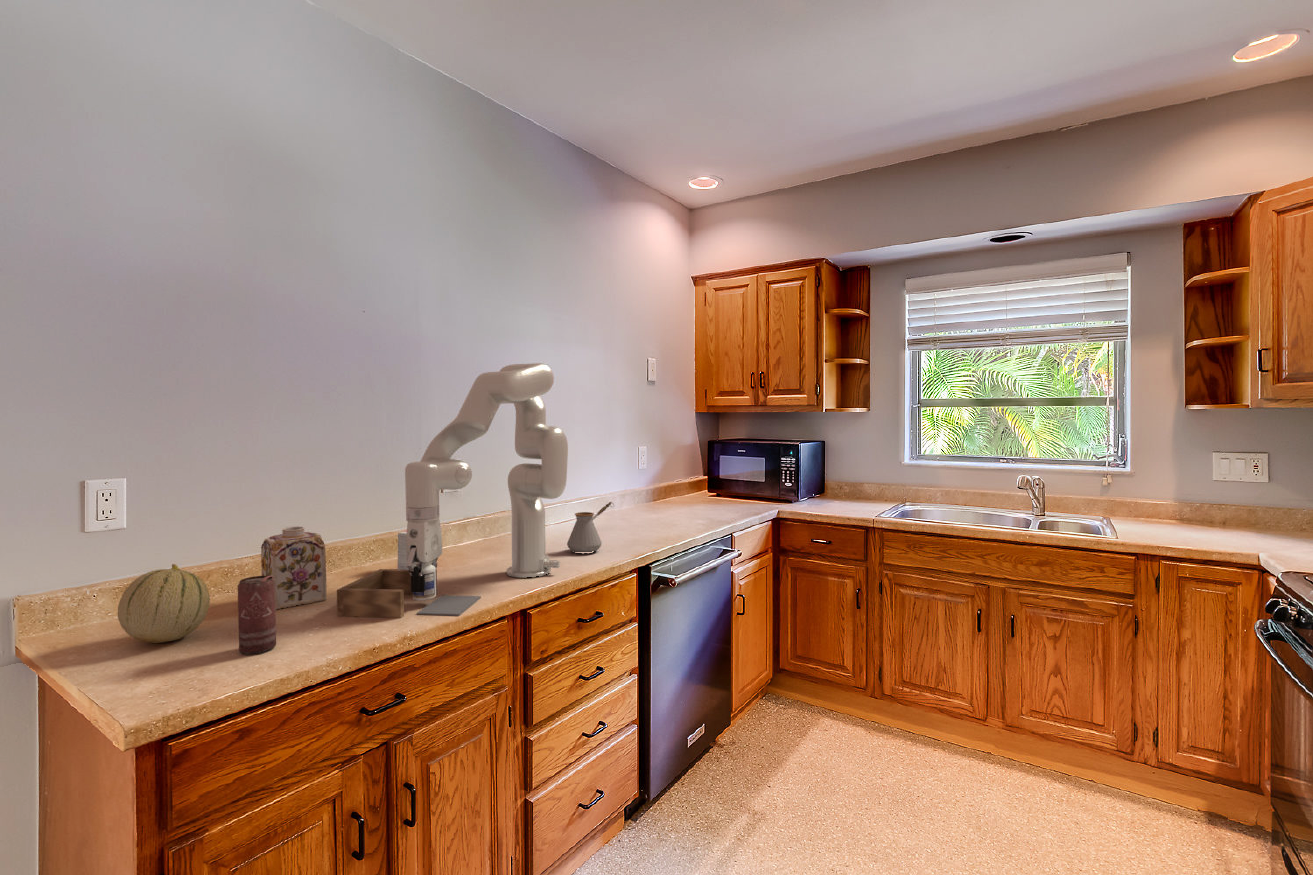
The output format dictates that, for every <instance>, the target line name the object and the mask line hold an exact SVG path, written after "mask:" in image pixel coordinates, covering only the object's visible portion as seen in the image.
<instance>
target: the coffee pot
mask: <svg viewBox="0 0 1313 875" xmlns="http://www.w3.org/2000/svg"><path fill="white" fill-rule="evenodd" d="M611 504H613V506H612V505H611ZM609 507H611V508H613V507H615V504H614V503H613V502H612V501H610V502H608V503H607V504H605V505H604V506H603V507H602V508H601V509H600V510H598V512H596V514H595V513H594V512H590V511H589V512H588V511H582V512H581V511H580V512H575V513H574V516H575V518H576V521H575V523H574V525H573V528H572V531H571V533H570V535H569V538H568V540H567V542H566V543H567V544H566V545H567V547H568V549H569V550H570V551H572V552H573V551H574V552H592V551H596V552H597V551H598V550H600V548H601V547H602V544H603V542H602V540H601V537H600V535H599V532H598V530H597V528H596V526H595V523H594V520H595V519H596V518H598V516H600V515H601V514H603V513H604V512H605V511H606V510H607V508H609Z"/></svg>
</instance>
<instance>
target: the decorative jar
mask: <svg viewBox="0 0 1313 875" xmlns="http://www.w3.org/2000/svg"><path fill="white" fill-rule="evenodd" d="M281 532H282V533H281V534H275V535H272V536H269V537H267V538H265V539H264V540H263V542H262V544H261V547H260V548H261V553H260V561H261V562H260V564H261V566H260V567H261V576H273V578H274V581H275V611H277V609H278V610H281V608H283V609H288V608H293V607H297V606H296V605H299V606H302V605H301V604H304V605H310V604H314V603H318V602H319V601H320V602H324V601H326V600H327V557H326V556H327V555H326V545H325V542H324V539H323V537H322V536H321V534H319V533H317V532H309V531H305V527H304V526H300V525H298V526H290V527H289V526H287V527H284V528H282V530H281ZM320 602H319V603H320ZM292 606H293V607H292ZM287 607H288V608H287Z"/></svg>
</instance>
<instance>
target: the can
mask: <svg viewBox="0 0 1313 875" xmlns="http://www.w3.org/2000/svg"><path fill="white" fill-rule="evenodd" d="M238 582H239V583H238V585H237V612H238V614H237V615H238V651H239V653H241V655H246V656H254V655H255V654H256V655H261V654H260V653H262V654H264V653H268V652H270V651H272V650H273V649H275V647H276V645H277V623H276V622H277V621H276V620H277V618H276V617H277V616H276V611H277V610H275V581H274V578H273V576H262V575H255V576H249V577H245V578H242V579H240V580H239V581H238Z"/></svg>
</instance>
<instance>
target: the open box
mask: <svg viewBox="0 0 1313 875" xmlns="http://www.w3.org/2000/svg"><path fill="white" fill-rule="evenodd" d="M436 571H437V569H436ZM437 572H438V571H437ZM437 594H438V584H436V595H437ZM405 595H406V596H407V595H410V596H411V595H412V592H411V576H410V571H409V570H398V569H397V568H396V569H393V568H391V569H388V568H385V569H384V568H380V569H378V570H375V571H374V572H371V573H369V574H367V575H365V576H363V577H360V578H359V579H357V580H355V581H352V582H350V583H348V584H346V585H344V586H342V587H340V588H338V589H336V615H337V617H354V616H357V617H359V618H360V617H361V618H366V617H367V618H390V619H391V618H394V619H395V618H396V619H402V618H403V617H404V616H405V604H404V603H405ZM412 596H413V595H412ZM357 617H356V618H357Z"/></svg>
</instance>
